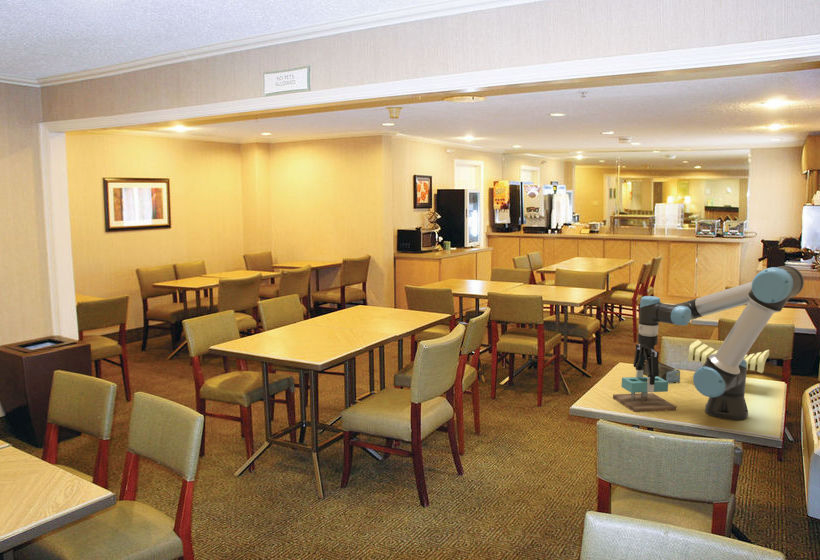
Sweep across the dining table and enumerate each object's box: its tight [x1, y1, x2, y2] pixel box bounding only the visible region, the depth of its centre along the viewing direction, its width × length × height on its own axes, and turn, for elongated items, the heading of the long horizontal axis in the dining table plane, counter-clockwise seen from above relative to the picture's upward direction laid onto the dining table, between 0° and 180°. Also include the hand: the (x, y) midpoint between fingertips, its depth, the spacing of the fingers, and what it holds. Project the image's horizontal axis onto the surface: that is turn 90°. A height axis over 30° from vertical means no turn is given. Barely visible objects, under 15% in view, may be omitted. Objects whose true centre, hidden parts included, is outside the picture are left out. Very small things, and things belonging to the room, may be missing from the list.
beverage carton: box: [643, 360, 681, 384], centre depth 301 cm, size 8×19×7 cm, turn 16°
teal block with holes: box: [620, 376, 669, 394], centre depth 261 cm, size 16×8×4 cm, turn 100°
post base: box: [612, 392, 678, 413], centre depth 262 cm, size 18×18×7 cm
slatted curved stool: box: [687, 339, 770, 374], centre depth 288 cm, size 30×16×18 cm, turn 52°
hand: (644, 388), depth 262 cm, fingers closed on teal block with holes, 8 cm apart
